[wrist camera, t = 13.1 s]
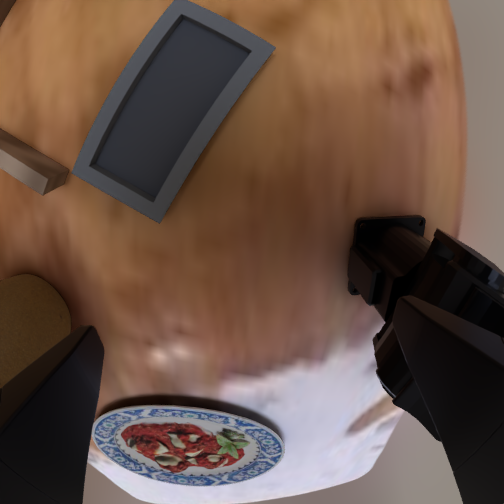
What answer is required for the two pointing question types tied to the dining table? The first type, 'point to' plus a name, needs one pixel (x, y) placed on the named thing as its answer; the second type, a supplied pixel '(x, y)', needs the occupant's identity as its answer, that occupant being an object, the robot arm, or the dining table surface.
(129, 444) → the ceramic plate
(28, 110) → the dining table surface
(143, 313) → the dining table surface
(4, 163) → the frame
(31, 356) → the plant pot
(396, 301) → the robot arm
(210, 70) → the tray
